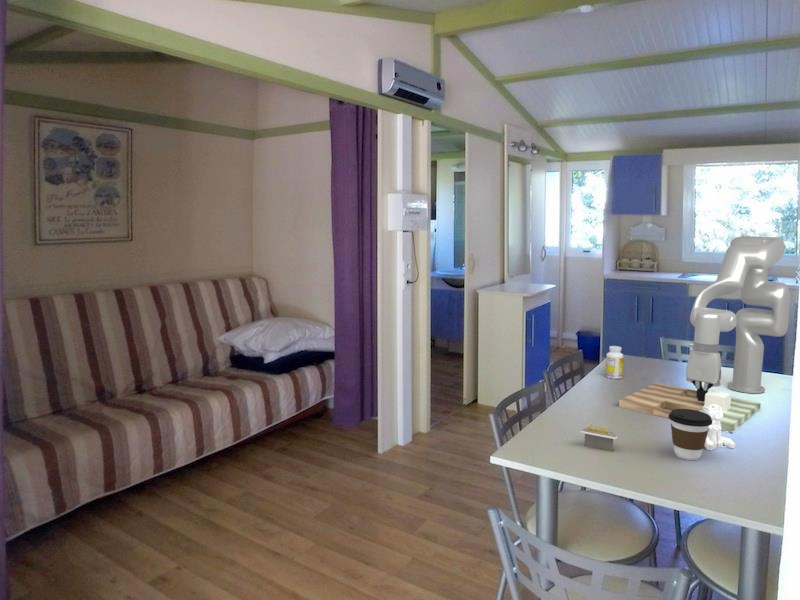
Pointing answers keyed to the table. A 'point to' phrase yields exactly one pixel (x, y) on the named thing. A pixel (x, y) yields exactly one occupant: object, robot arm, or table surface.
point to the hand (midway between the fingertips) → (701, 400)
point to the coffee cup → (689, 432)
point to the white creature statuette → (716, 429)
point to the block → (718, 399)
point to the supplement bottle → (614, 363)
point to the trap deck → (685, 404)
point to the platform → (599, 437)
